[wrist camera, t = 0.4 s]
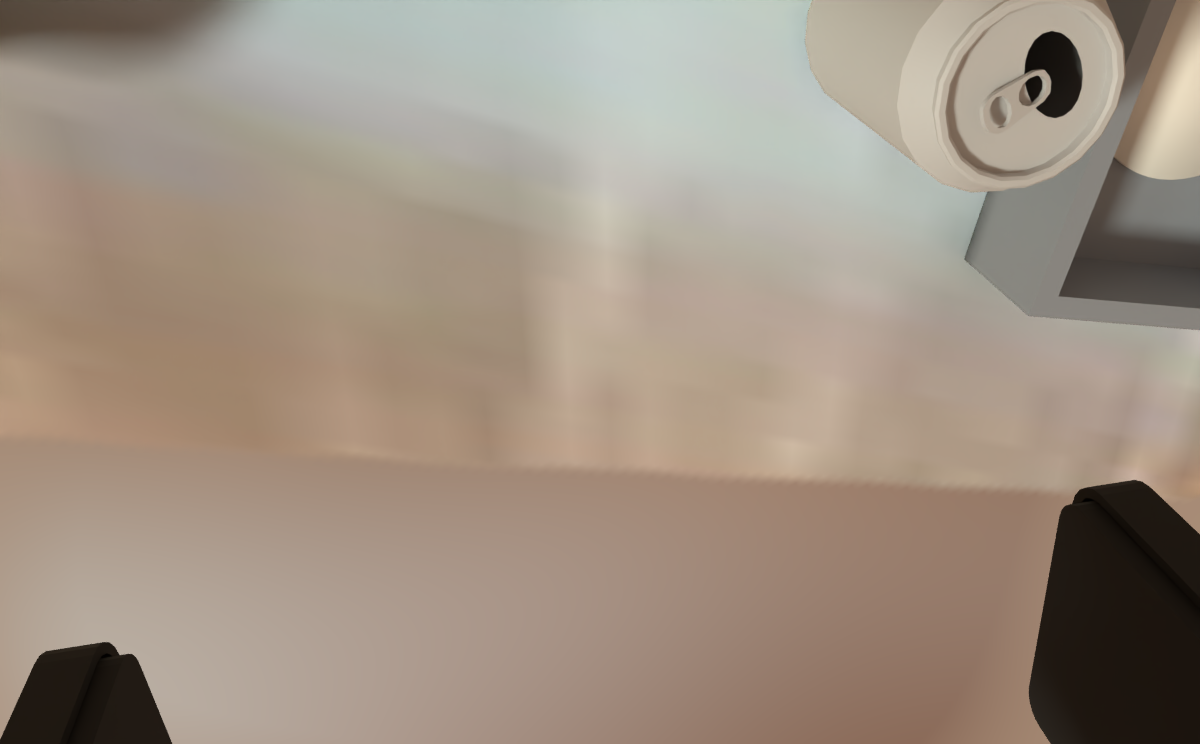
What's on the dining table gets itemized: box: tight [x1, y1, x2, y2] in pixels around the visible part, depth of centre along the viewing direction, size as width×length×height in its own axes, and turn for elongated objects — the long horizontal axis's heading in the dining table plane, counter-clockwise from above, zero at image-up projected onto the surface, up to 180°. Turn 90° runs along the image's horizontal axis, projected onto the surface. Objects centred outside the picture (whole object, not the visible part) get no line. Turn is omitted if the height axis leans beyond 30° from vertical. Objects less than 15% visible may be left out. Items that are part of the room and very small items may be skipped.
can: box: [805, 0, 1126, 192], centre depth 37 cm, size 8×8×12 cm
